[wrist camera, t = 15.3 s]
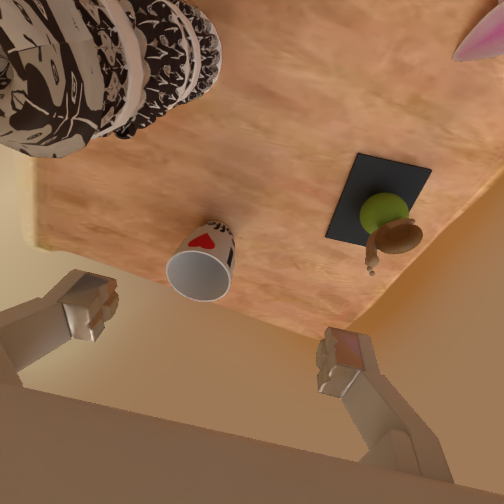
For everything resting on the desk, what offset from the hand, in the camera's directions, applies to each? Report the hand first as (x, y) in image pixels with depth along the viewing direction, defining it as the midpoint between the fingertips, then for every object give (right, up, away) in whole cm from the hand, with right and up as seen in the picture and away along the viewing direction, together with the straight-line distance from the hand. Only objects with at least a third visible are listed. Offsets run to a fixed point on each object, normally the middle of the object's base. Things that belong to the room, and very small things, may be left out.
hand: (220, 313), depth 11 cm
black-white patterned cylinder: (-6, +24, +20) cm, 32 cm away
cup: (-4, +5, +33) cm, 34 cm away
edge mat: (+17, +8, +27) cm, 33 cm away
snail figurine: (+17, +8, +27) cm, 33 cm away
